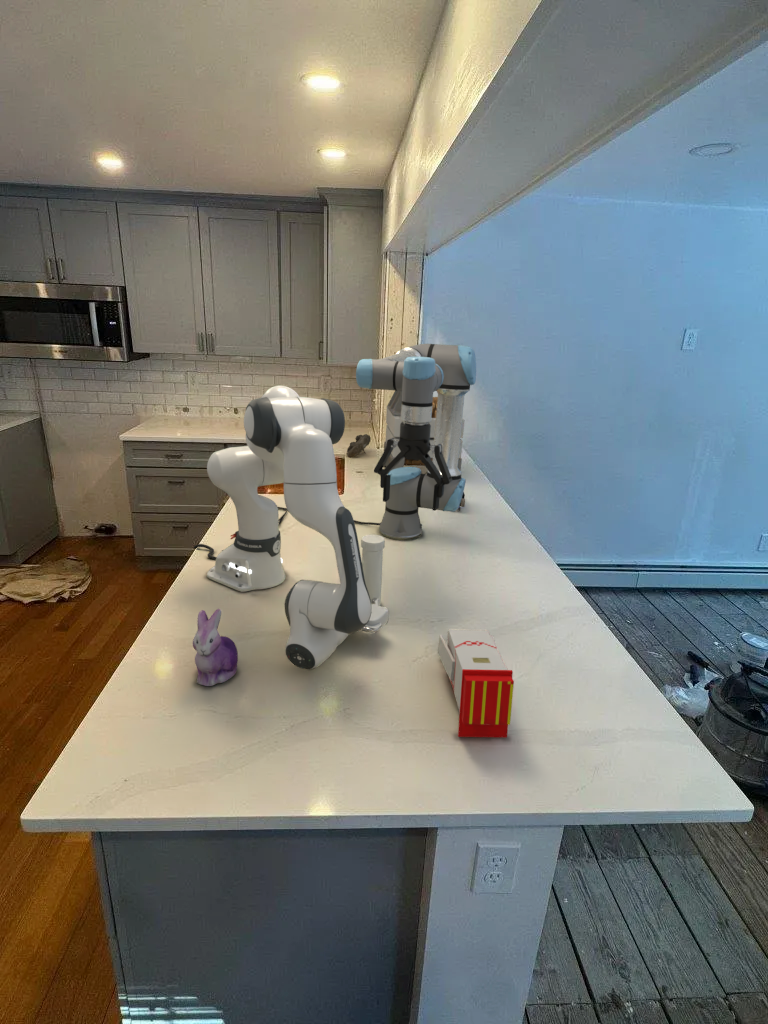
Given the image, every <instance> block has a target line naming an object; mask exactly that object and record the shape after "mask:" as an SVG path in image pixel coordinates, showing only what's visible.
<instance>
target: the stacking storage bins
mask: <svg viewBox="0 0 768 1024" xmlns="http://www.w3.org/2000/svg"><path fill="white" fill-rule="evenodd" d="M437 399H438V396H433V401H432V416H431V422H429V424H430V425H431V431H430V444H431V445H434V435H435V423H436V411H437ZM401 405H402V391H395V390H394V392H393V394H392V395H391V398H390V400H389V402H388V404H387V405H386V413H385V414H386V415H385V423H386V428H385V438H384V442H383V452H384V451H385V449H386V446H387V440H389V439H391V438H394V439H395V440H398V441H399V439H400V424H401V422H403V421H402V420H401ZM464 429H465V419H464V418H462V426H461V436H460V447H459V457H458V469H459V470H460V471H461V472H462V461H463V460H462V453H463V442H464V441H463V440H462V439H463V438H464V431H465V430H464ZM400 452H401V451H400V449H399V447H398V445H397V446H396V447H395V448H393V451H392V452H391V454H390V456H389V458H388V459H387V461H386V463H385V465H384V467H387V466H388V465H389V463H390V462H391V461H392V460H393V459H394V458H395V457H396V456H397V455H398V454H399V453H400ZM428 454H429V456H430V457H431V460H432V459H433V452H432V450H430V451H429V452H428ZM405 466H406V467H417V466H418V467H426V466H425V465H424V464H423V463H422V462H421V460H419V461H415V460H413V459H410V460H408V459H406V458H405V457H404V458H403V459H402V460H401V461H400V462H399V463H398V464H397V465H396V466H395V467H394V468H393V469H396V468H401V467H405ZM393 469H392V470H393Z"/></svg>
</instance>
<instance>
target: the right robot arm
mask: <svg viewBox="0 0 768 1024" xmlns="http://www.w3.org/2000/svg"><path fill="white" fill-rule="evenodd" d="M476 361H477V358H476V353H475V350H474V349H473V347H471V346H467V345H461V344H441V343H439V344H438V343H419V344H415V345H411V346H407V347H403V348H401V349H399V350H398V351H397V352H396V353H395V354H392V355H389V356H386V357H383V358H379V359H375V358H373V359H372V358H362V359H360V360H359V361H358V363H357V366H356V371H355V379H356V384H357V386H358V387H360V388H362V389H368V390H381V391H382V390H383V391H394V392H395V391H402V405H401V420H402V421H403V422H401V424H400V439H399V441H398V440H395V439H394V438H391V439H389V440H387V446H386V449H385V451H384V450H383V452H382V454H381V456H380V458H379V459H378V462H377V463H376V465H375V467H374V469H373V473H374V474H378V475H379V476H380V484H379V486H380V488H381V489H382V502H385V504H384V505H385V507H384V508H385V509H384V513H383V515H382V519H381V522H370V521H368V522H367V521H359V520H356V519H353V520H354V524H358V525H367V526H368V525H369V526H370V525H371V526H378V533H379V535H380V536H382V537H384V538H387V539H389V540H395V541H410V540H415V539H418V538H420V537H421V536H422V535H423V524H422V523H421V518H420V515H419V508H421V509H428V510H432V511H433V512H434V511H435V512H436V511H442V512H453V513H454V512H456V511H457V510H459V509H458V507H459V505H460V502H461V499H462V495H463V492H464V491H465V487H466V479H465V478H464V477H462V470H461V471H460V470H459V469H458V457H459V447H460V439H461V438H460V436H461V426H462V419H463V414H464V403H465V396H466V395H467V393H468V392H470V390H471V386H474V385H475V384H476V380H477V362H476ZM434 392H436V393H437V397H438V399H437V411H436V423H435V435H434V445H431V444H430V431H431V425H430V424H429V422H431V416H432V401H433V397H434ZM397 445H398V447H399V449H400V451H401V452H400V453H399V454H398V455H397V456H396V457H395V458H394V459H393V460H392V461H391V462H390V463H389V465H388V466H384V465H385V463H386V461H387V459H388V458H389V456H390V454H391V452H392V451H393V448H395V447H396V446H397ZM430 450H432V452H433V459H432V460H431V457H430V456H429V454H428V452H429V451H430ZM404 457H405V458H406V459H408V460H410V459H413V460H415V461H419V460H421V462H422V463H423V464H424V465H425V466H424V467H426V469H427V470H426V473H422V469H421V468H419V467H417V466H404V467H401V468H396V469H393V468H394V467H395V466H396V465H397V464H398V463H399V462H400V461H401V460H402V459H403V458H404ZM392 469H393V470H392ZM464 493H465V492H464ZM277 507H278V510H282V511H287V512H289V511H288V510H287V508H286V507H281V506H277Z"/></svg>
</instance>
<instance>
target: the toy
mask: <svg viewBox="0 0 768 1024" xmlns="http://www.w3.org/2000/svg"><path fill="white" fill-rule="evenodd" d="M446 640H447V643H446V641H445V639H444V636H443V635H442V634H439V637H438V646H437V656H438V657H439V659H440V661H441V663H442V666H443V668H444V670H445V672H446V674H447V677H448V679H449V681H450V684H451V687H452V690H453V693H454V697H455V701H456V705H457V708H458V711H459V714H458V715H459V716H458V730H457V731H458V732H457V737H458V738H508V731H509V726H510V725H511V717H512V707H513V697H514V696H513V695H514V684H515V680H514V679H513V673H514V671H513V670H512V669H508V667H507V665H506V662H505V661H504V659H503V658H502V655H501V653H500V651H499V649H498V647H497V643H496V639H495V637H494V635H493V634H491V632H490V631H489V629H467V628H466V629H465V628H463V629H461V628H460V629H459V628H448V630H447V639H446Z"/></svg>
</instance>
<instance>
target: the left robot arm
mask: <svg viewBox="0 0 768 1024" xmlns="http://www.w3.org/2000/svg"><path fill="white" fill-rule="evenodd" d="M345 427H346V419H345V413H344V410H343V408H342V406H341V405H340V404H339V403H338V402H337V401H334V400H332V399H329V398H325V397H323V398H315V397H308V396H300V395H299V393H297V391H295V390H294V389H293V388H292V387H290V386H289V387H288V386H286V385H274V386H272V387H270V388H268V389H267V390H266V391H265V392H264V393H263V395H262V396H261V397H258V398H254V399H252V400H250V402H249V403H248V404H247V405H246V407H245V411H244V416H243V428H244V431H245V442H246V445H244V446H232V447H231V446H230V447H227V448H222V449H220V450H216V451H214V452H212V453H211V455H210V456H209V458H208V460H207V465H206V471H207V476H208V478H209V480H210V481H211V483H212V484H213V485H214V486H215V487H216V488H217V489H220V490H221V491H222V492H224V493H225V494H226V495H227V496H228V497H229V498H230V499H231V501H232V502H233V505H234V507H235V511H236V518H237V527H238V528H237V529H238V530H236V531H235V532H234V533H233V534H231V535H230V540H233V539H234V541H233V542H232V543H231V544H230V545H228V546H227V547H226V548H224V549H223V550H221V551H220V552H219V553H218V554H217V556H214V555H213V554H214V552H215V549H214V548H213V547H211V546H209V545H207V544H203V543H197V544H195V545H194V546H193V549H198V548H204V549H207V550H209V552H208V553H207V558H208V559H210V560H212V561H213V560H214V561H215V562H214V566H213V567H211V568H209V570H208V571H207V572H206V578H207V579H209V580H210V581H211V580H212V581H213V582H217V583H219V584H221V585H224V586H226V587H228V588H231V589H233V590H236V591H238V592H242V593H245V592H250V591H254V590H265V589H270V588H274V587H276V586H279V585H281V584H282V583H283V582H284V581H285V580H286V577H287V575H286V573H285V569H284V566H283V558H282V556H281V549H282V548H281V547H282V540H281V538H282V537H281V530H280V525H279V521H280V520H279V519H280V518H279V509H278V507H279V506H278V505H277V504H276V502H275V501H274V500H273V499H271V498H269V497H267V496H265V495H261V494H259V492H258V489H259V488H258V487H264V486H271V485H278V484H279V485H281V484H283V499H284V504H285V508H287V510H288V511H287V510H286V511H287V512H288V513H289V514H290V515H291V517H292V518H293V519H295V520H296V521H297V522H298V523H300V524H301V525H304V526H305V527H308V528H309V529H311V530H314V531H315V532H317V533H319V534H320V535H322V536H323V537H324V538H326V539H327V540H328V541H329V543H330V544H331V545H332V548H333V551H334V555H335V560H336V561H335V562H336V567H337V573H338V578H339V583H336V582H326V581H319V580H311V579H310V580H309V579H300V580H298V581H297V582H295V583H294V584H293V585H292V587H291V588H290V590H289V591H288V592H287V594H286V596H285V599H284V603H283V604H284V606H283V607H284V614H285V618H286V620H287V622H288V625H289V635H288V638H287V641H286V644H285V647H284V648H285V649H284V652H285V656H286V659H287V660H288V661H289V662H290V663H291V664H292V665H293V666H295V667H297V668H299V669H302V670H308V671H309V670H314V669H316V668H318V667H319V666H321V665H322V664H324V662H325V661H327V660H328V659H329V658H330V657H331V655H332V654H333V653H335V651H336V649H337V647H338V646H340V645H341V644H342V643H343V642H344V641H345V640H346V639H347V638H348V636H349V635H354V634H356V633H357V632H359V631H361V632H364V633H370V634H372V633H373V634H374V633H377V632H379V631H380V629H381V630H382V628H383V627H385V625H386V624H388V622H389V609H388V608H387V607H385V606H383V605H382V606H381V605H380V606H379V603H380V599H378V598H373V599H372V604H371V599H370V596H369V593H368V590H367V587H366V583H365V578H364V573H363V567H362V554H361V550H360V544H359V539H358V534H357V528H356V523H355V522H354V520H355V519H354V517H353V515H352V512H351V510H349V509H348V508H346V507H345V505H344V503H343V502H342V500H341V497H340V494H339V490H338V477H337V476H338V473H337V463H336V457H335V451H334V446H333V445H335V444H337V443H339V442H340V441H341V439H342V437H343V436H344V433H345Z"/></svg>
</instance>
